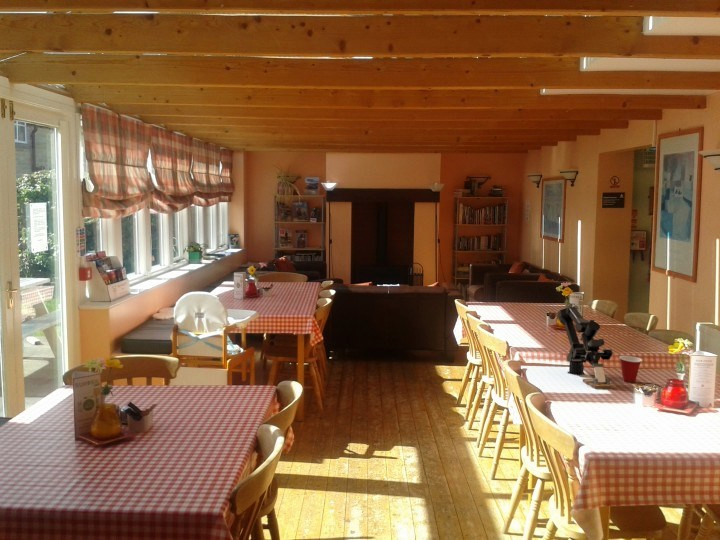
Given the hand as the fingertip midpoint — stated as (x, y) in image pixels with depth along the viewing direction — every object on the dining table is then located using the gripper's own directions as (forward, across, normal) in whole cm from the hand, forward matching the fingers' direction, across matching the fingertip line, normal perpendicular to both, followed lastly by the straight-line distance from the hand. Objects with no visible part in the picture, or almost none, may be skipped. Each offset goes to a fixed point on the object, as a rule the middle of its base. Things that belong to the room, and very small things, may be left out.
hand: (596, 368), depth 352 cm
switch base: (+7, 0, +4) cm, 8 cm away
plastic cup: (0, +21, +11) cm, 23 cm away
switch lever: (+9, 0, -1) cm, 9 cm away
